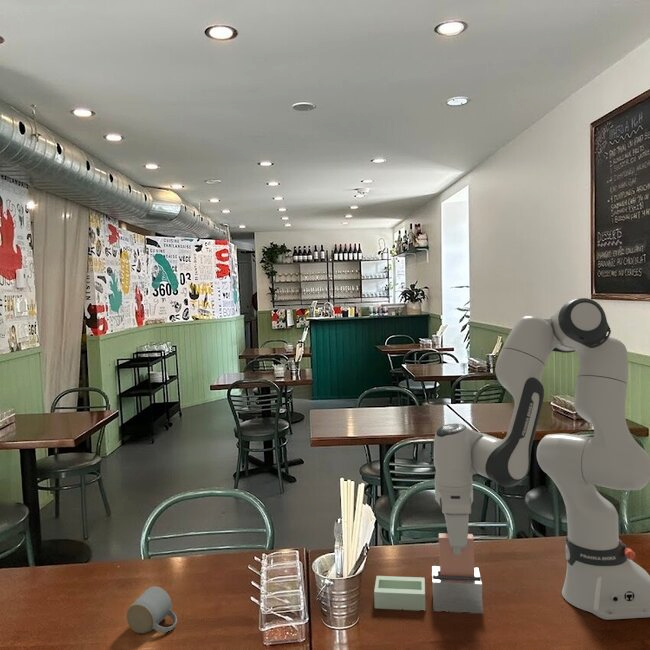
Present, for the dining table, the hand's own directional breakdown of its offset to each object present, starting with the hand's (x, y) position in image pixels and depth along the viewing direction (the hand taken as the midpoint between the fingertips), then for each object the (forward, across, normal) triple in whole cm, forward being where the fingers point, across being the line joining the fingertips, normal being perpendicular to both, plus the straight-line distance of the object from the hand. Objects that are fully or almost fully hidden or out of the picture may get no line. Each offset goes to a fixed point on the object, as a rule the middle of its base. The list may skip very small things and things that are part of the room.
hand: (456, 549), depth 137 cm
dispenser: (+13, 0, 0) cm, 13 cm away
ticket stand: (+13, 0, -14) cm, 19 cm away
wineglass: (+13, -19, -30) cm, 38 cm away
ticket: (+7, 0, 0) cm, 7 cm away
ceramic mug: (+12, +16, -70) cm, 73 cm away
